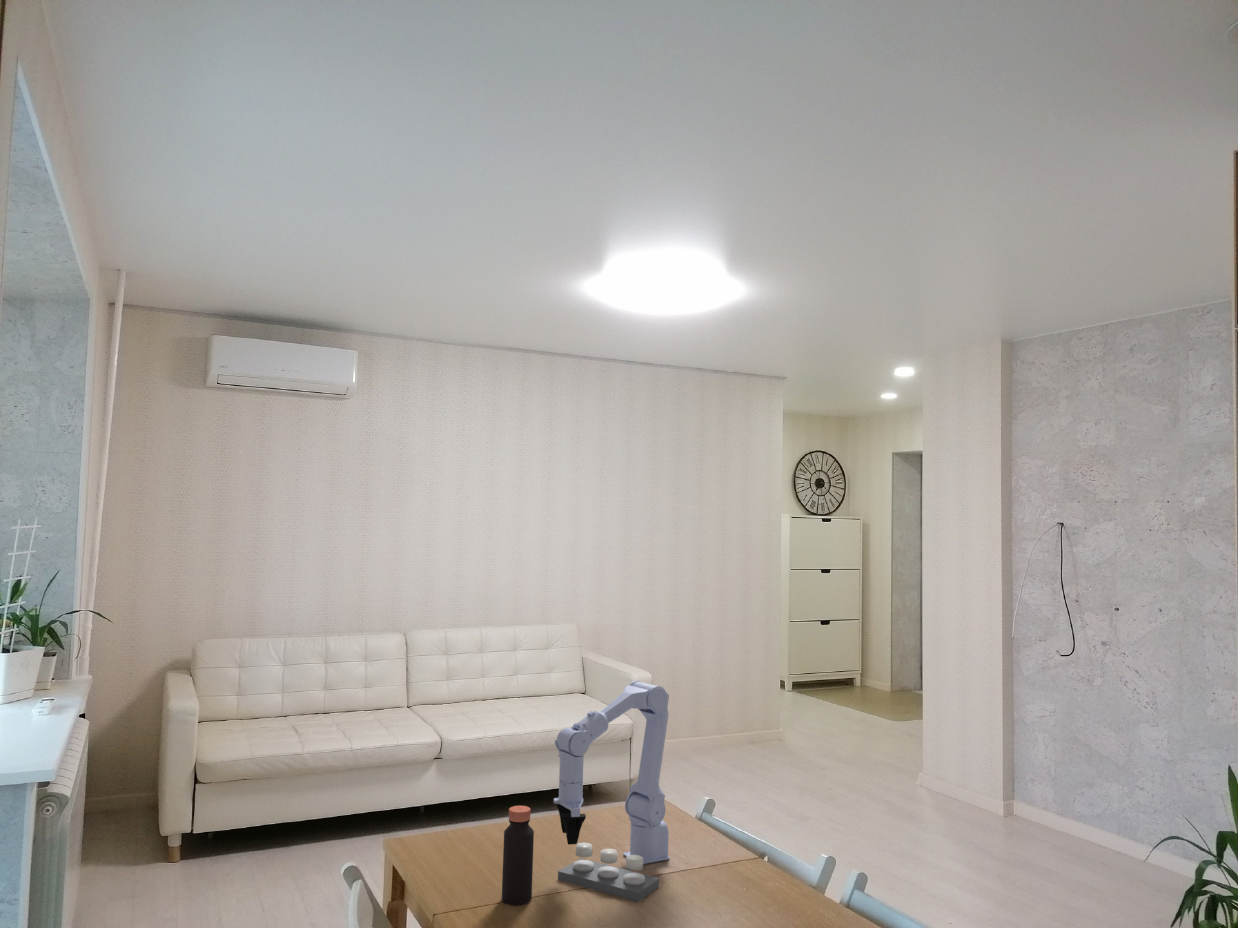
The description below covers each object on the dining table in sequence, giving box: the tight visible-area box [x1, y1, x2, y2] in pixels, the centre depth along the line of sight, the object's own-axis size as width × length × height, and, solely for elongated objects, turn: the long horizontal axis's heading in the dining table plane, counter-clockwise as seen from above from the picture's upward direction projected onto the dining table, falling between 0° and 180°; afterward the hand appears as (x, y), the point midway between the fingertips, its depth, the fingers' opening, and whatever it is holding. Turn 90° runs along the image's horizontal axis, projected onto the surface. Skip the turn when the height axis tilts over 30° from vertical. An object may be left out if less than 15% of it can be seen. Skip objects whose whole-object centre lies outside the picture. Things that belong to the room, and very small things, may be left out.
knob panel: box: [557, 857, 660, 903], centre depth 208 cm, size 22×10×3 cm, turn 60°
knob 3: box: [625, 855, 644, 871], centre depth 205 cm, size 4×4×2 cm
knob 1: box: [575, 842, 593, 858], centre depth 212 cm, size 4×4×2 cm
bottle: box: [501, 805, 535, 906], centre depth 198 cm, size 7×7×20 cm
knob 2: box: [599, 848, 618, 865], centre depth 208 cm, size 4×4×2 cm
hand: (569, 837), depth 210 cm, fingers open, 7 cm apart
